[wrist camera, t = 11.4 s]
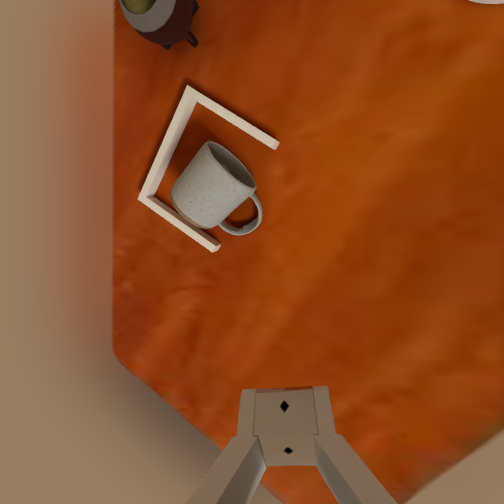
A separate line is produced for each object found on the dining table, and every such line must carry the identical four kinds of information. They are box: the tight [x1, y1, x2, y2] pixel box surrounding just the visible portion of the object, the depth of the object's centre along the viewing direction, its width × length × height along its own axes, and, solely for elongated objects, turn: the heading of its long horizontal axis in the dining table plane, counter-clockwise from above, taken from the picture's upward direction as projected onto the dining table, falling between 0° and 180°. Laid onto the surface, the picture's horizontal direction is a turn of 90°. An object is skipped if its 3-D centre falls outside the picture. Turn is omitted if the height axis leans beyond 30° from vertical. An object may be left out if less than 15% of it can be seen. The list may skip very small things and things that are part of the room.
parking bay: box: [138, 85, 280, 252], centre depth 39 cm, size 16×13×2 cm
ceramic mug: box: [170, 141, 262, 235], centre depth 36 cm, size 11×8×8 cm
